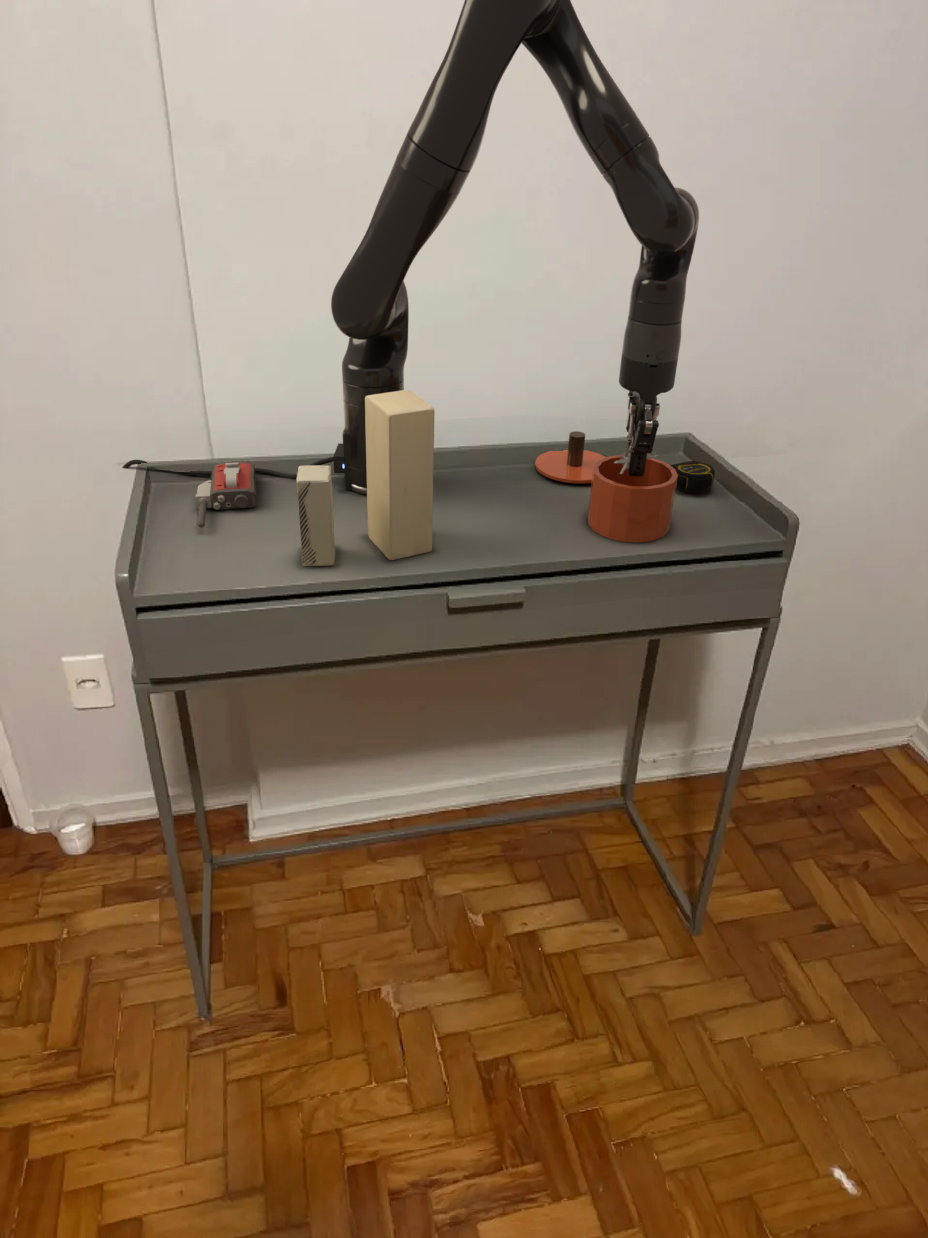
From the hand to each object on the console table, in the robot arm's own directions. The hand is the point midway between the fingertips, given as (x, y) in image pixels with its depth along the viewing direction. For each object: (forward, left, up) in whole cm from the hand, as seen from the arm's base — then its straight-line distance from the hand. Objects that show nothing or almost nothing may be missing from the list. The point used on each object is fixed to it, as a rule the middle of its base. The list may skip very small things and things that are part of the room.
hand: (634, 470), depth 134 cm
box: (-44, -14, -9) cm, 47 cm away
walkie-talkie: (-61, +2, -9) cm, 61 cm away
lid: (-7, +19, -8) cm, 22 cm away
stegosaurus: (0, 0, 0) cm, 0 cm away
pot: (0, 0, -8) cm, 8 cm away
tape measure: (+11, +14, -9) cm, 20 cm away
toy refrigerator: (-33, -9, -9) cm, 35 cm away
